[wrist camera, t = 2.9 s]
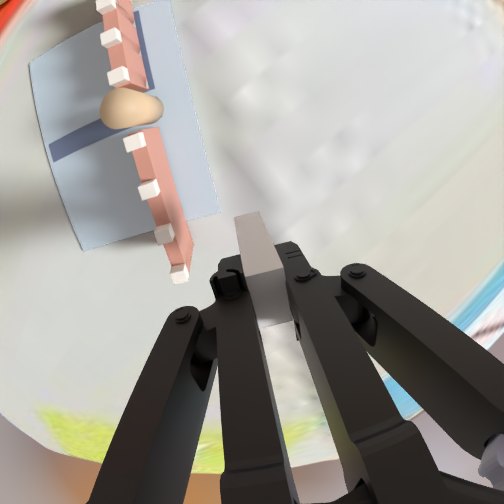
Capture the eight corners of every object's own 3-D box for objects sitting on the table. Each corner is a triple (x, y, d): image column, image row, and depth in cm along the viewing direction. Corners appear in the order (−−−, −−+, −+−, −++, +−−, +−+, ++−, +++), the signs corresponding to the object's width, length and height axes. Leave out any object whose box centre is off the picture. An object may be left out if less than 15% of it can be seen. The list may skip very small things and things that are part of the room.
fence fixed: (167, 119, 19) (143, 120, 13) (139, 128, 19) (105, 135, 13) (138, -16, 13) (113, -54, 6) (112, -6, 13) (79, -39, 6)
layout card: (30, 63, 14) (28, 63, 14) (169, -3, 14) (168, -4, 14) (84, 250, 24) (83, 252, 23) (221, 211, 24) (221, 212, 23)
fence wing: (146, 130, 19) (122, 136, 14) (158, 126, 19) (137, 130, 14) (182, 246, 24) (174, 285, 19) (193, 243, 24) (188, 282, 19)
